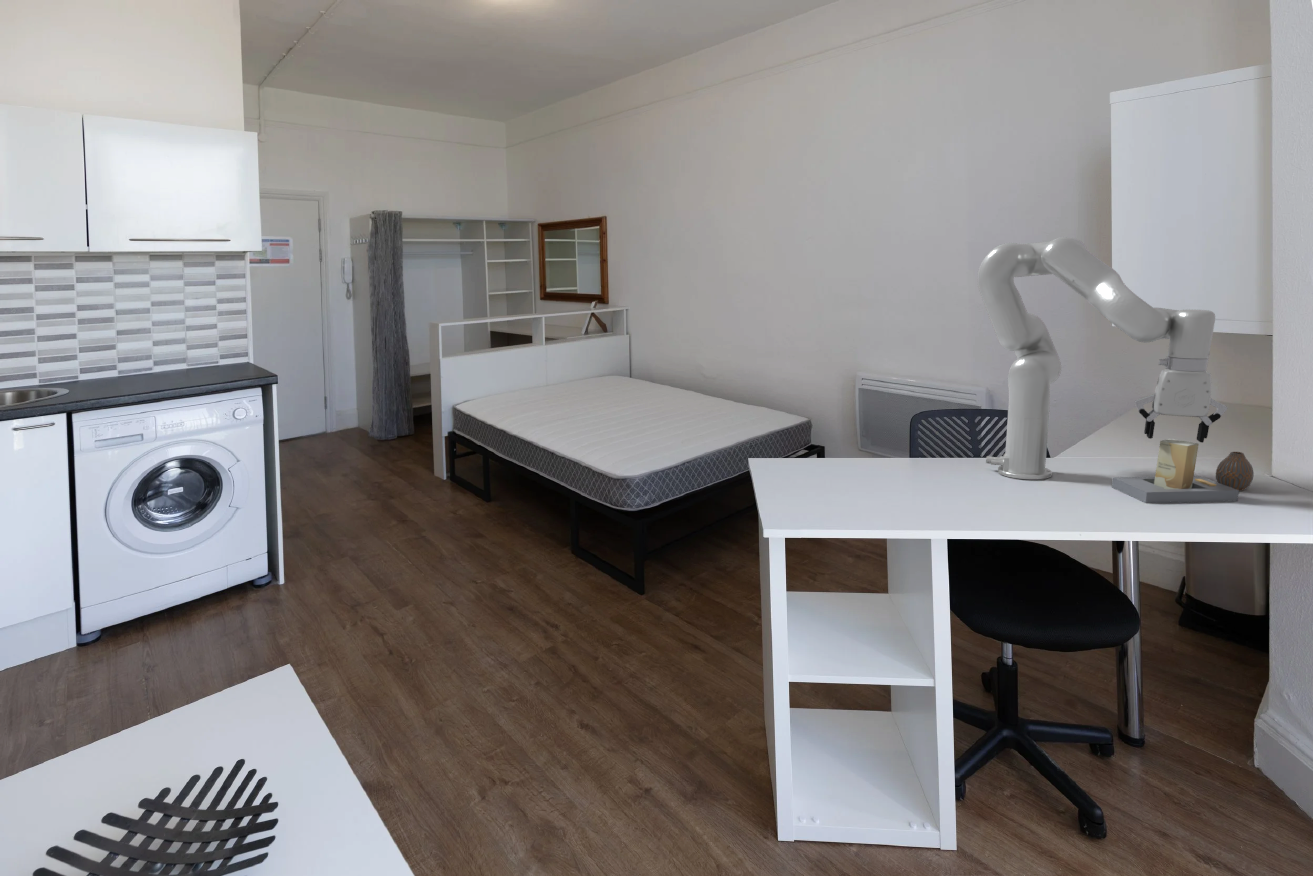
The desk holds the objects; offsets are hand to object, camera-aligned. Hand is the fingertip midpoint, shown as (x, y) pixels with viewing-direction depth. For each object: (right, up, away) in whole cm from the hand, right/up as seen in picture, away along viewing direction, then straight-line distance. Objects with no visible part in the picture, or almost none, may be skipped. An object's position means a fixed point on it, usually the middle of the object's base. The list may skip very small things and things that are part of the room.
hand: (1174, 439), depth 164 cm
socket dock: (+1, -13, +2) cm, 13 cm away
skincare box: (+1, -13, +2) cm, 13 cm away
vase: (+17, -12, +5) cm, 21 cm away
